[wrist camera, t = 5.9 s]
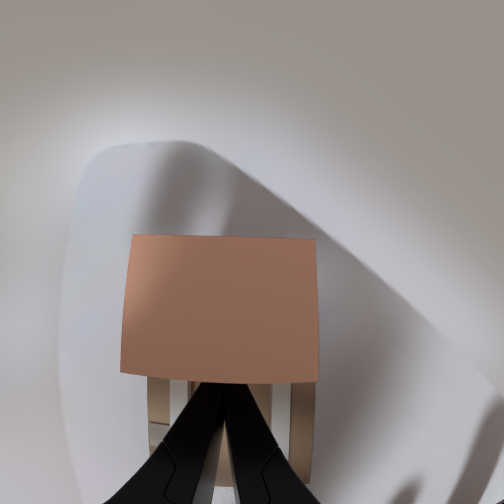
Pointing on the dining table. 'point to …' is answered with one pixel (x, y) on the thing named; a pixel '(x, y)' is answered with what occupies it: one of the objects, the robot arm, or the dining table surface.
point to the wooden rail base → (270, 404)
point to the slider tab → (221, 309)
